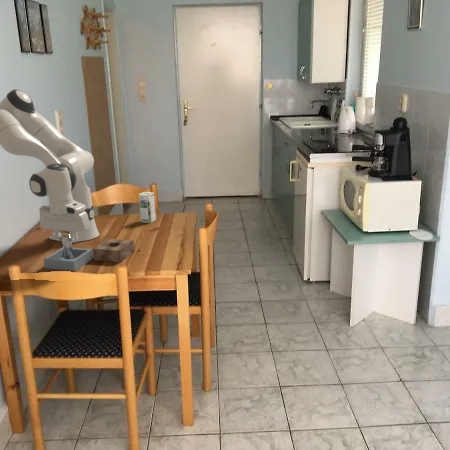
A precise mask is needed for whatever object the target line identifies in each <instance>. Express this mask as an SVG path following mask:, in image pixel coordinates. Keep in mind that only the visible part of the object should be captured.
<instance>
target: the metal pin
mask: <svg viewBox="0 0 450 450" xmlns="http://www.w3.org/2000/svg"><path fill="white" fill-rule="evenodd" d="M70 236H71V234H70V231H61V238H62V241H61V244H62V248H63V252H64V259H72V258H73V249H72V248H73V243H72V242H71V241H69V237H70Z"/></svg>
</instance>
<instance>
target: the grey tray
mask: <svg viewBox="0 0 450 450" xmlns="http://www.w3.org/2000/svg"><path fill="white" fill-rule="evenodd" d="M72 249H73V258H72V259H64V252H63V247H61V248H60V249H58V250H57V251H55V252H53V253H51V254H49V255H48V256H46V257H44V258H43V263H44V268H45V269H47V270H57V271H59V270H60V271H67V270H68V271H69V272H76V271H77V270H79V269H81V268H82V267H84V266H85V265H86V264H89V262H91V261H92V260H94V254H93V248H82V247H81V248H80V247H79V248H78V247H72Z"/></svg>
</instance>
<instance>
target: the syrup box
mask: <svg viewBox="0 0 450 450" xmlns="http://www.w3.org/2000/svg"><path fill="white" fill-rule="evenodd" d="M138 201H139V210H140V223H146V224H147V223H149V224H151V223H153V222H155V221H156V220H157V215H156V205H155V204H156V203H155V193H154V192H148V191H143V192H141V193H138Z"/></svg>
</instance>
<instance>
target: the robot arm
mask: <svg viewBox="0 0 450 450" xmlns="http://www.w3.org/2000/svg"><path fill="white" fill-rule="evenodd" d="M0 147H2V149H4V151H5V152H7V153H9V155H10V154H11V155H13V156H14V155H15V156H23V157H31V158H35V159H38V160H39V161H40V162H42V163H43V164H44V165H45V168H44V169H43V170H41V171H40V170H39V172H35V173H32V175H31V176H30V179H29V182H28V183H29V189H30V191H31V193H32V194H33V195H35V196H37V197H39V198H41V197H48V204H49V205H42V206H40V207H39V209H38V210H39V227H40V228H41V230H51V231H53V233H51V234H50V235H49V240H53V241H59V242H62V238H61V231H70V234H71V236H70V237H69V241H71V242H72V244H75V243H78V242H84V241H89V240H93V239H95V238H98V237H99V236H100V232H99V230H98V228H97V223H96V221H95V209H94V205H93V201H92V193H91V188H90V187H89V186H88V185H87V183H86V181H85V176H84V175H85V174H87V173H88V172H90V171H91V169H92V168H93V166H94V164H95V159H94V156H93V154H92V153H91V152H89V151H88V150H85V149H83V148H81V147H79V146H78V145H77V144H75V143H74V142H72V141H71V140H69V139H68V138H67V137H65V136H64V135H63V134H62V133H61V132H60V131H59V130H58V129H57V127H55V126H54V125H53V123H51V122H50V121H49V120H48V119H46V118H45V117H44V116H43V115H41V114H40V113H39V112H37V111H36V108H35V106H34V103H33V99H32V98H31V97H30V95H28V94H27V92H25V91H23V90H21V89H12V90H10V91H9V92H8V93H6V96H5V97H4V98H3V99H2V100H1V101H0Z"/></svg>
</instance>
